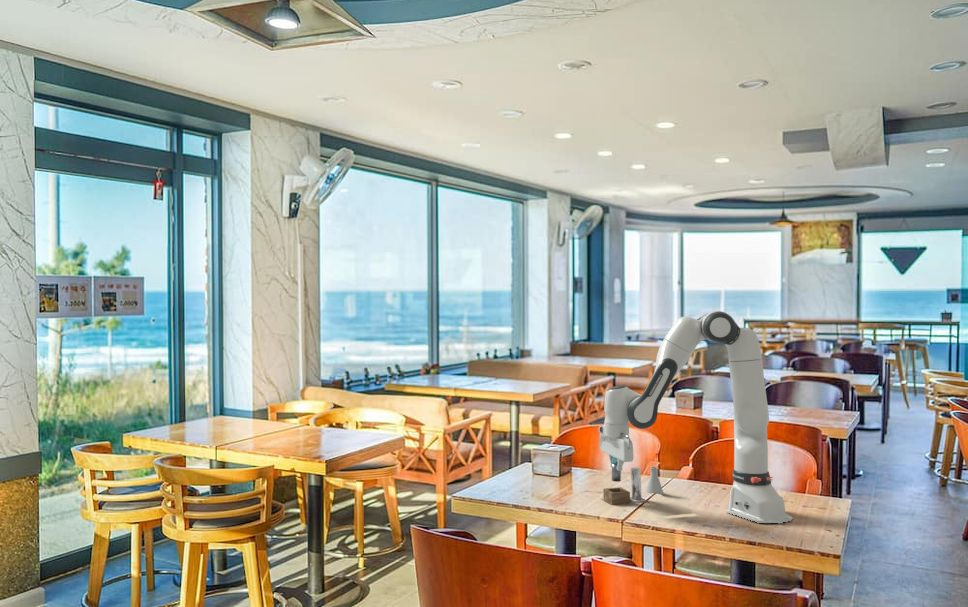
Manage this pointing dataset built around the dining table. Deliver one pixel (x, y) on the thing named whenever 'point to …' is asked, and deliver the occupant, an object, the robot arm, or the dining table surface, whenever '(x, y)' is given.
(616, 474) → the small bottle
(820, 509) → the dining table surface
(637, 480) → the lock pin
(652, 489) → the flask
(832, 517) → the dining table surface
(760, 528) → the dining table surface
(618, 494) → the box
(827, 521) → the dining table surface
